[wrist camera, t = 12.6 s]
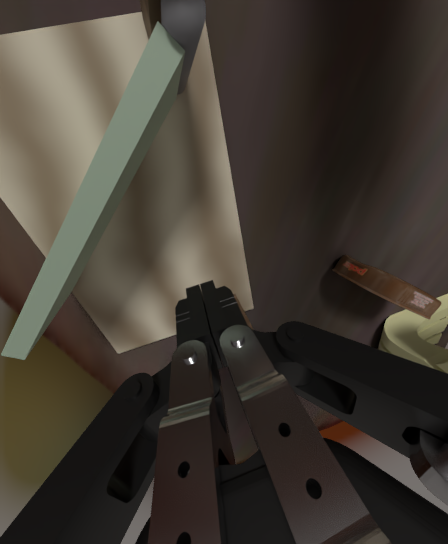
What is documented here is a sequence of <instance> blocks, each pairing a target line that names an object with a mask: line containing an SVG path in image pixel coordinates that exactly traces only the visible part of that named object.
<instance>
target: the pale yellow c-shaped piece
mask: <svg viewBox="0 0 448 544" xmlns="http://www.w3.org/2000/svg"><path fill="white" fill-rule="evenodd" d="M436 299H438V300H439V301H441V305H440V307H439V308H438V309H437V310H436V311H435V313H434V314H433V315H432V316H431V318H430V319H427V318H424V317H422V316H420V315H418V314H416V313H413V312H411V311H409V310H407V309H406V310H404V311H401V312H398V313H396V314H393V315H391V316H389V317H388V318H387V319H386V322H385V324H384V328H383V331H382V335H381V339H380V342H379V346H378V349H379V350H382V351H385V352H387V353H390V354H393V355H396V356H399V357H402V358H405V359H408V360H410V361H413V362H416V363H419V364H422V365H425V366H428V367H430V368H433V369H436V370H439V371H442V372H445V373H448V349H445V348H442V347H439V346H436V345H433V344H435V343H438V341H439V339H440V337H441V335H442V333H440V332H442V331H444V330H445V328H446V326H447V324H448V294H446V295H443V296H441V297H438V298H436Z"/></svg>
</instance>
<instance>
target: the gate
mask: <svg viewBox="0 0 448 544" xmlns="http://www.w3.org/2000/svg"><path fill="white" fill-rule="evenodd" d="M205 17H206V7H205V1H204V0H161V24H160V23H159V22H158V21H157V24H156V26H155V28H154V30H153V32H152V34H151V36H150V39H149V41H148V43H147V45H146V47H145V49H144V51H143V53H142V56H141V58H140V60H139V62H138V64H137V66H136V68H135V70H134V73H133V75H132V77H131V79H130V81H129V83H128V85H127V87H126V90H125V92H124V94H123V96H122V98H121V100H120V102H119V105H118V107H117V109H116V111H115V113H114V115H113V117H112V119H111V122H110V124H109V126H108V128H107V130H106V132H105V134H104V136H103V139H102V141H101V143H100V145H99V147H98V149H97V151H96V153H95V156H94V158H93V160H92V162H91V164H90V166H89V168H88V171H87V173H86V175H85V177H84V179H83V181H82V183H81V185H80V188H79V190H78V192H77V194H76V196H75V198H74V200H73V202H72V205H71V207H70V209H69V211H68V213H67V215H66V217H65V220H64V222H63V224H62V226H61V228H60V230H59V232H58V234H57V237H56V239H55V241H54V243H53V245H52V247H51V249H50V251H49V254H48V256H47V258H46V260H45V262H44V264H43V266H42V268H41V271H40V273H39V275H38V277H37V279H36V281H35V283H34V286H33V288H32V290H31V292H30V294H29V296H28V298H27V300H26V303H25V305H24V307H23V309H22V311H21V313H20V315H19V317H18V320H17V322H16V324H15V326H14V328H13V330H12V333H11V335H10V337H9V339H8V341H7V343H6V345H5V347H4V349H3V352H2V354H1V355H2V356H8V357H13V358H18V359H23V360H25V359H26V357H27V356H28V354H29V353H30V351H31V350H32V348H33V347H34V345H35V344H36V343H37V341H38V340H39V338H40V337H41V335H42V334H43V332H44V331H45V330H46V328H47V327H48V325H49V324H50V322H51V321H52V319H53V318H54V317H55V315H56V314H57V312H58V311H59V309H60V308H61V306H62V305H63V304H64V302H65V301H66V299H67V298H68V296H69V295H70V293H71V292H72V290H73V289H74V287H75V285H76V283H77V281H78V279H79V277H80V276H81V274H82V272H83V270H84V268H85V266H86V264H87V263H88V261H89V259H90V257H91V255H92V253H93V251H94V250H95V248H96V246H97V244H98V242H99V240H100V239H101V237H102V235H103V233H104V231H105V229H106V227H107V226H108V224H109V222H110V220H111V218H112V216H113V214H114V213H115V211H116V209H117V207H118V205H119V203H120V202H121V200H122V198H123V196H124V194H125V192H126V190H127V189H128V187H129V185H130V183H131V181H132V179H133V177H134V176H135V174H136V172H137V170H138V168H139V166H140V164H141V163H142V161H143V159H144V157H145V155H146V153H147V152H148V150H149V148H150V146H151V144H152V142H153V140H154V139H155V137H156V135H157V133H158V131H159V129H160V127H161V126H162V124H163V122H164V120H165V118H166V116H167V114H168V113H169V111H170V109H171V107H172V105H173V103H174V102H175V100H176V97H177V95H179V94H181V93H182V92H183V91H184V90H185V87H186V84H187V81H188V77H189V74H190V70H191V67H192V64H193V60H194V57H195V54H196V50H197V47H198V43H199V40H200V37H201V33H202V30H203V26H204V23H205Z"/></svg>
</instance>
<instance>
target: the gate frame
mask: <svg viewBox="0 0 448 544" xmlns="http://www.w3.org/2000/svg"><path fill="white" fill-rule="evenodd" d="M140 4H141V11H142V12H138V13H132V14H126V15H120V16H114V17H108V18H101V19H95V20H89V21H83V22H77V23H71V24H65V25H59V26H52V27H46V28H40V29H34V30H28V31H22V32H16V33H10V34H4V35H0V197H1V199H2V200H3V201H4V203H5V204H6V205H7V207H8V208H9V209H10V211H11V212H12V213H13V215H14V216H15V217H16V219H17V220H18V221H19V223H20V224H21V225H22V227H23V228H24V229H25V231H26V232H27V233H28V235H29V236H30V237H31V239H32V240H33V241H34V243H35V244H36V245H37V247H38V248H39V249H40V251H41V252H42V253H43V254H44V256H45V257H46V258H47V256H48V254H49V251H50V249H51V247H52V245H53V243H54V241H55V239H56V237H57V234H58V232H59V230H60V228H61V226H62V224H63V222H64V220H65V217H66V215H67V213H68V211H69V209H70V207H71V205H72V202H73V200H74V198H75V196H76V194H77V192H78V190H79V188H80V185H81V183H82V181H83V179H84V177H85V175H86V173H87V171H88V168H89V166H90V164H91V162H92V160H93V158H94V156H95V153H96V151H97V149H98V147H99V145H100V143H101V141H102V139H103V136H104V134H105V132H106V130H107V128H108V126H109V124H110V122H111V119H112V117H113V115H114V113H115V111H116V109H117V107H118V105H119V102H120V100H121V98H122V96H123V94H124V92H125V90H126V87H127V85H128V83H129V81H130V79H131V77H132V75H133V73H134V70H135V68H136V66H137V64H138V62H139V60H140V58H141V56H142V53H143V51H144V49H145V47H146V45H147V43H148V41H149V39H150V36H151V34H152V32H153V30H154V28H155V26H156V24H157V21H158V22H159V23H160V24H161V0H140ZM211 280H213V282H214V285H215V288H219V287H222V286H226V287H228V288H229V289H230V290H231V291H232V293H233V295H234V298H235V299H236V301H237V304H238V306H239V308H240V310H241V312H242V314H243V317H244V319H245V321H246V323H247V325H248V326H249V327H250V328H251V329H253V328H252V326H251V324H250V322H249V320H248V318H247V316H246V314H245V312H244V311H247V310H250V309H253V308H254V307H253V301H252V295H251V289H250V283H249V278H248V272H247V266H246V260H245V254H244V248H243V242H242V236H241V230H240V224H239V218H238V212H237V206H236V200H235V194H234V189H233V183H232V177H231V171H230V165H229V159H228V153H227V147H226V141H225V135H224V129H223V123H222V117H221V111H220V105H219V99H218V94H217V88H216V82H215V76H214V70H213V64H212V58H211V52H210V46H209V40H208V34H207V28H206V22H205V23H204V26H203V30H202V33H201V37H200V40H199V43H198V47H197V50H196V54H195V57H194V60H193V64H192V67H191V70H190V74H189V77H188V81H187V84H186V87H185V90H184V91H183V92H182V93H181V94H179V95H177V97H176V100H175V102H174V103H173V105H172V107H171V109H170V111H169V113H168V114H167V116H166V118H165V120H164V122H163V124H162V126H161V127H160V129H159V131H158V133H157V135H156V137H155V139H154V140H153V142H152V144H151V146H150V148H149V150H148V152H147V153H146V155H145V157H144V159H143V161H142V163H141V164H140V166H139V168H138V170H137V172H136V174H135V176H134V177H133V179H132V181H131V183H130V185H129V187H128V189H127V190H126V192H125V194H124V196H123V198H122V200H121V202H120V203H119V205H118V207H117V209H116V211H115V213H114V214H113V216H112V218H111V220H110V222H109V224H108V226H107V227H106V229H105V231H104V233H103V235H102V237H101V239H100V240H99V242H98V244H97V246H96V248H95V250H94V251H93V253H92V255H91V257H90V259H89V261H88V263H87V264H86V266H85V268H84V270H83V272H82V274H81V276H80V277H79V279H78V281H77V283H76V285H75V287H74V289H73V290H72V293H73V294H74V296H75V297H76V298H77V300H78V301H79V302H80V304H81V305H82V306H83V308H84V309H85V310H86V312H87V313H88V314H89V316H90V317H91V318H92V320H93V321H94V322H95V324H96V325H97V326H98V328H99V329H100V330H101V331H102V333H103V334H104V335H105V337H106V338H107V339H108V341H109V342H110V343H111V345H112V346H113V347H114V349H115V350H116V351H117V353H118V354H119V353H122V352H125V351H128V350H131V349H134V348H137V347H140V346H143V345H146V344H149V343H152V342H155V341H158V340H161V339H164V338H167V337H170V336H173V335H176V314H175V307H176V305H177V303H178V301H179V300H182V299H185V298H187V295H186V288H189V287H192V286H195V285H198V284H199V286H200V284H201V283H204V282H207V281H211ZM200 288H201V287H200Z"/></svg>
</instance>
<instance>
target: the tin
mask: <svg viewBox="0 0 448 544" xmlns="http://www.w3.org/2000/svg"><path fill="white" fill-rule="evenodd" d="M332 271H334V272H335V273H337V274H339V275H340V276H342V277H344V278H346V279H347V280H349V281H351V282H353V283H355V284H357V285H358V286H360V287H362V288H364V289H366V290H368V291H369V292H371V293H373V294H375V295H377V296H379V297H381V298H383V299H385V300H387V301H389V302H391V303H393V304H396V305H398V306H400V307H402V308H404V309H407V310H409V311H411V312H413V313H416V314H418V315H420V316H422V317H424V318H427V319H430V318H431V316H432V315H433V314H434V313H435V311H436V310H437V309H438V308H439V307H440V305H441V301H439V300H438V299H436V298H435V297H433V296H431V295H429V294H428V293H426V292H424V291H422V290H420V289H419V288H417V287H415V286H413V285H411V284H409V283H407V282H405V281H403V280H401V279H399V278H397V277H395V276H393V275H391V274H389V273H387V272H384V271H382V270H380V269H378V268H375V267H372V266H368V265H365V264H362V263H361V262H359V261H357V260H355V259H353V258H351V257H350V256H348V255H343V256H342V257H341V259H340V260H339V262H338V263H337V265H336V266H335V267H334V268H333V269H332Z"/></svg>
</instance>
